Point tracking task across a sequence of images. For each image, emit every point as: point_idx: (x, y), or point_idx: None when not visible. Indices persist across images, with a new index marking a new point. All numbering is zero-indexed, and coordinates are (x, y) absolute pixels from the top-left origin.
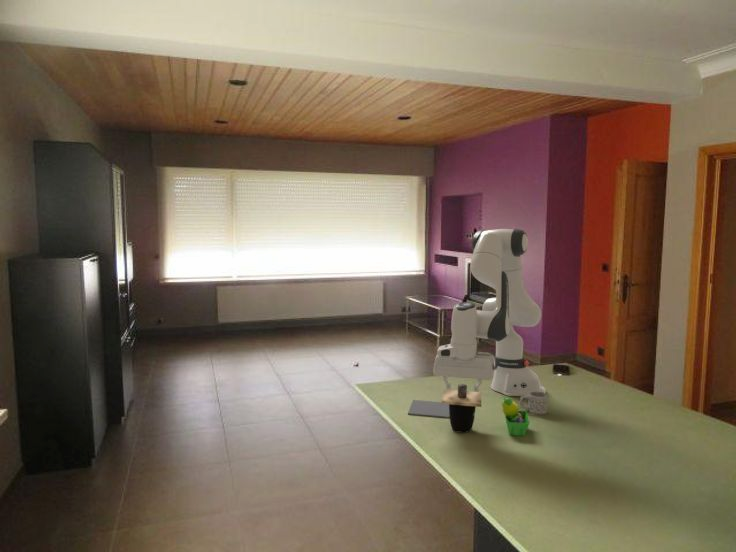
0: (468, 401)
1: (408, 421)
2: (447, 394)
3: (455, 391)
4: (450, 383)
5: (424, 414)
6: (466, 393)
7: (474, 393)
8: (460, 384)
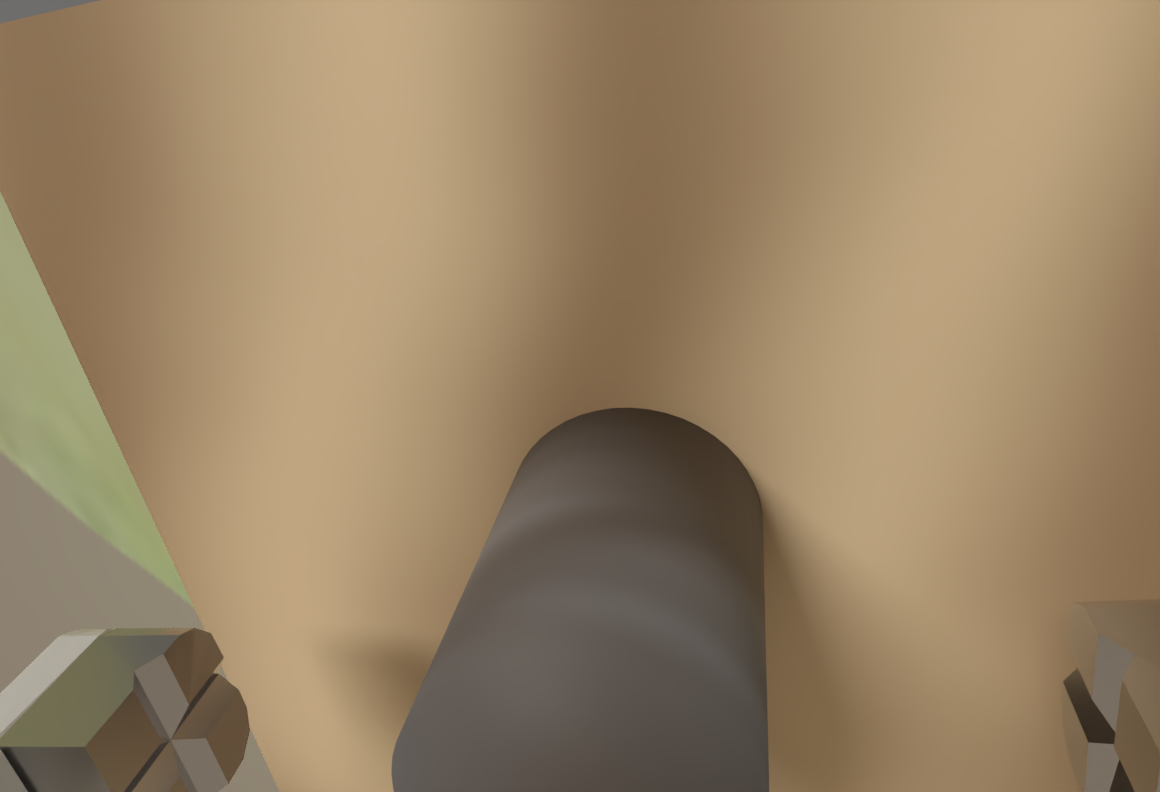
0: (853, 784)
1: (19, 306)
2: (234, 477)
3: (315, 120)
4: (95, 777)
5: (44, 8)
6: (763, 606)
7: (1025, 45)
8: (467, 737)
